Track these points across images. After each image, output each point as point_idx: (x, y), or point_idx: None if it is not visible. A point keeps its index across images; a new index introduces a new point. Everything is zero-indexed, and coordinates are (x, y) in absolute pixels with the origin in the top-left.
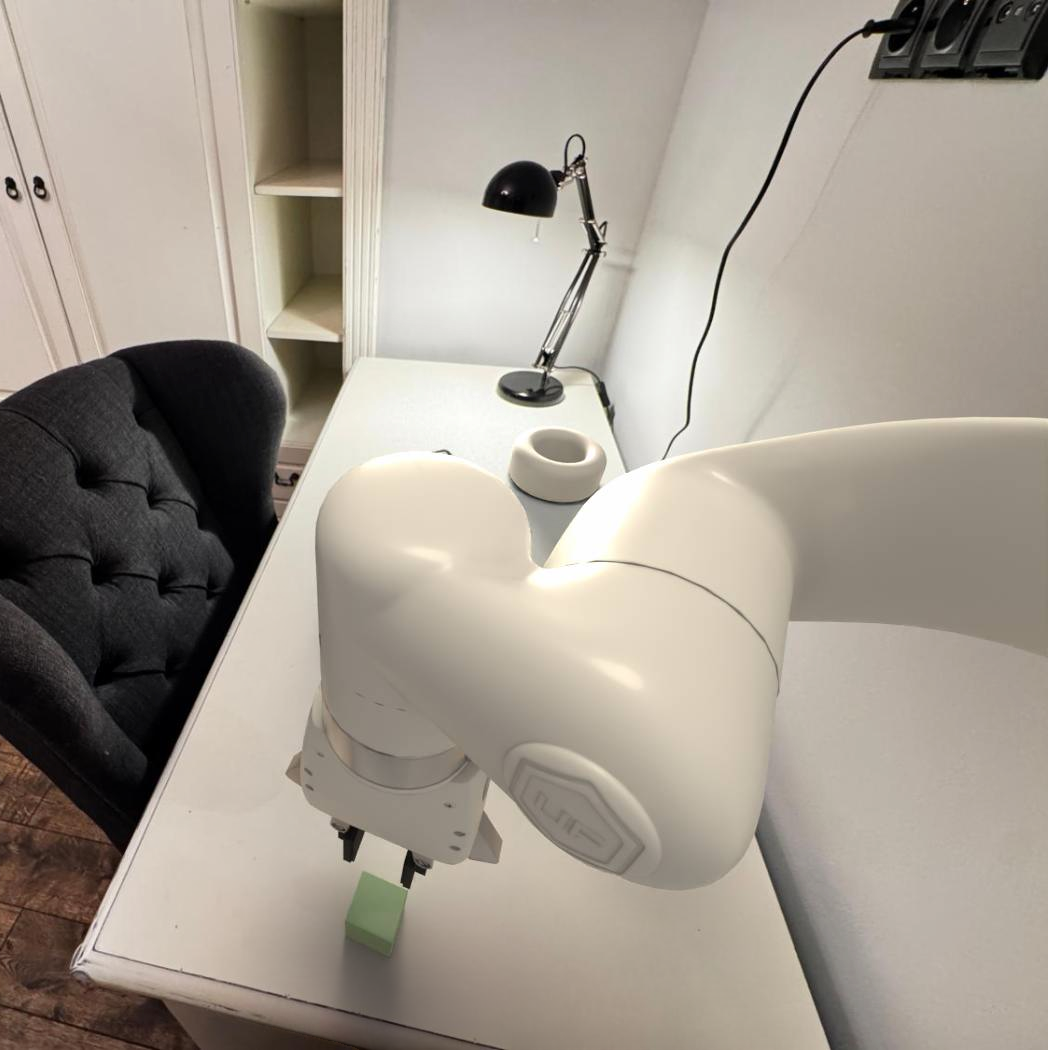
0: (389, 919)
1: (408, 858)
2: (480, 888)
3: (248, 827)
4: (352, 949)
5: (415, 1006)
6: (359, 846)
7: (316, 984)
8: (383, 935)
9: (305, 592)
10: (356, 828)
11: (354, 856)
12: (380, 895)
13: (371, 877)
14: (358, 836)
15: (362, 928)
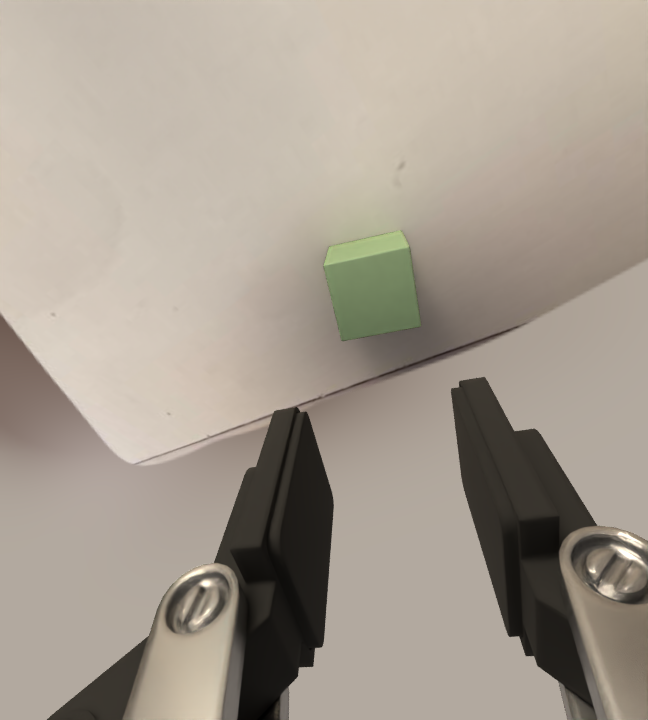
0: (401, 303)
1: (525, 640)
2: (513, 119)
3: (132, 281)
4: None
5: (466, 324)
6: (324, 470)
7: (343, 371)
8: (403, 326)
9: None
10: (305, 631)
11: (330, 518)
12: (370, 282)
13: (342, 267)
14: (318, 565)
15: (369, 335)
